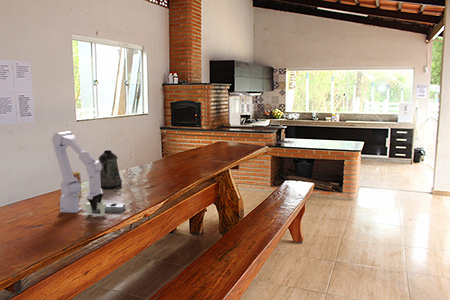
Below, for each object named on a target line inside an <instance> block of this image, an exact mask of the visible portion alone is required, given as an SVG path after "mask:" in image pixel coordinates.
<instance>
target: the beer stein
mask: <svg viewBox="0 0 450 300" xmlns="http://www.w3.org/2000/svg"><path fill="white" fill-rule="evenodd" d="M98 161H100V162H101V164H102V170H101V171H100V181H101V188H102V190H108V191H109V190H115V189H116V190H117V189H120V188H122V184H123V180H122V178H121V175H120V171H119V166H118V156H117V155H116V154H115V153H113V152H112V150H110V149H108V150H104V152H103V153H102V154H101V155H99V157H98Z"/></svg>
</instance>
